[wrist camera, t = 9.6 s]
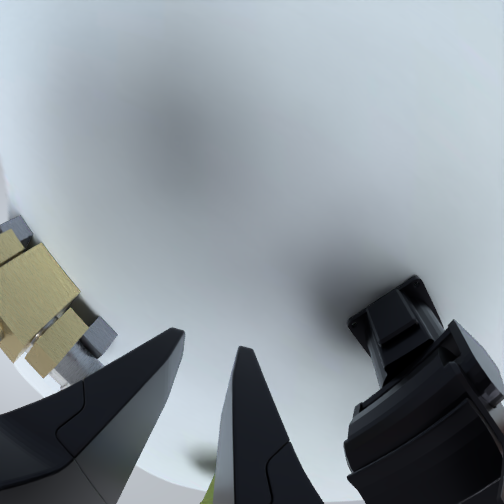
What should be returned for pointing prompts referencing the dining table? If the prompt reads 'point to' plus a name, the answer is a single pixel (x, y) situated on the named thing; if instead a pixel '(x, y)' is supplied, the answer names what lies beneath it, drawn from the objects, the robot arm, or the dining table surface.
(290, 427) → the dining table surface
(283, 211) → the dining table surface
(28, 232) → the valve
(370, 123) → the dining table surface
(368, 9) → the dining table surface
